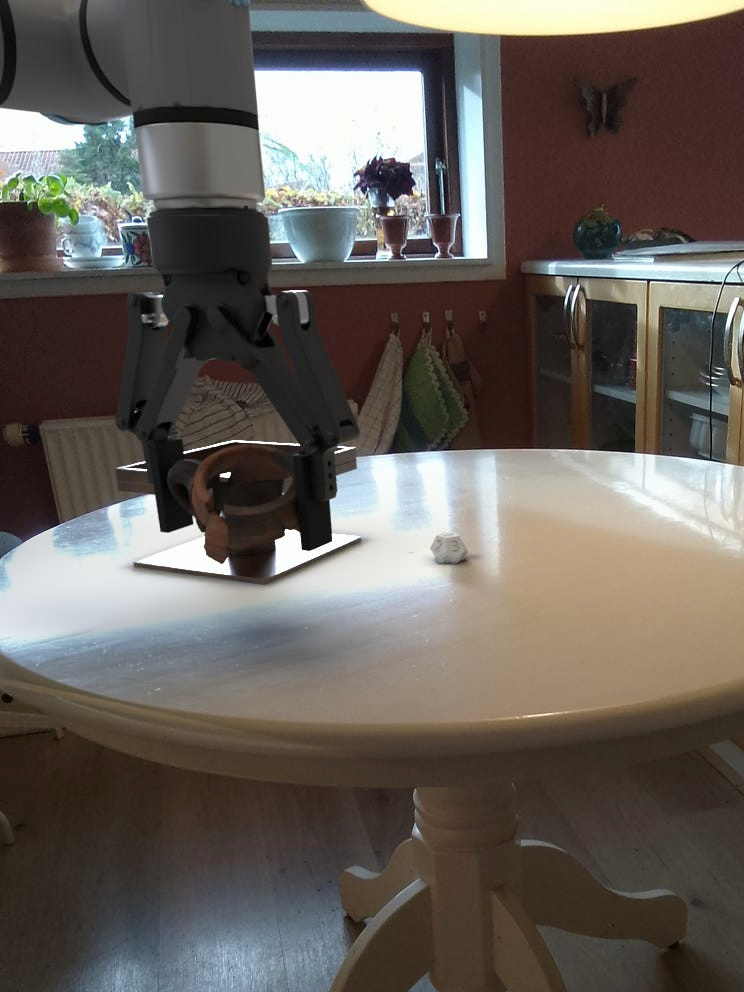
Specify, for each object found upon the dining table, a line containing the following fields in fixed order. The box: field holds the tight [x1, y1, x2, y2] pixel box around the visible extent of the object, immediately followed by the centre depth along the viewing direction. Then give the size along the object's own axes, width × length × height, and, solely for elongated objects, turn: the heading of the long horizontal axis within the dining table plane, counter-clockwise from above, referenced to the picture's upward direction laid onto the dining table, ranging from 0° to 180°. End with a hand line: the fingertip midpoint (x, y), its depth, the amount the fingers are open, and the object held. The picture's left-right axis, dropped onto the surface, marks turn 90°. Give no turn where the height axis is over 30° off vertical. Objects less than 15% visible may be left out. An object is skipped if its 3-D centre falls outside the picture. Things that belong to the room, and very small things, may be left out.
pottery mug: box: [167, 444, 300, 564], centre depth 66 cm, size 12×10×8 cm
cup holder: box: [114, 440, 362, 586], centre depth 92 cm, size 16×17×10 cm
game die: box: [429, 531, 469, 564], centre depth 89 cm, size 4×4×3 cm
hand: (244, 537), depth 67 cm, fingers closed on pottery mug, 12 cm apart
